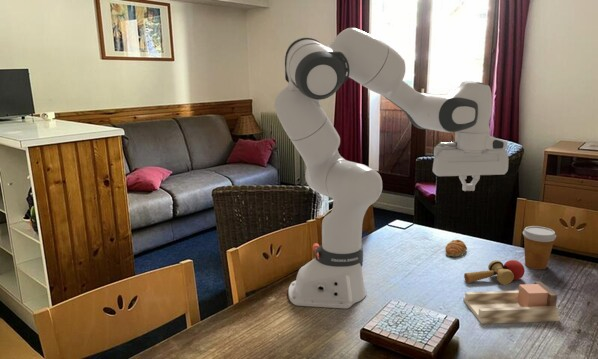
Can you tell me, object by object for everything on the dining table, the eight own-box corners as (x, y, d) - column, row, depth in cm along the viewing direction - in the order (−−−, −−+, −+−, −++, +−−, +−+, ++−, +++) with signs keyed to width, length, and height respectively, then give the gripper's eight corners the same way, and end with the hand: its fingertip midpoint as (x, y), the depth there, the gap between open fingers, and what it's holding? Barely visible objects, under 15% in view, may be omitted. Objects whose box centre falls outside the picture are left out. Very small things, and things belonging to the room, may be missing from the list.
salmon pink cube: (527, 311, 119) (529, 293, 117) (517, 301, 123) (519, 284, 122) (546, 310, 119) (548, 292, 118) (535, 300, 124) (537, 283, 122)
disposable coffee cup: (558, 266, 147) (562, 231, 144) (542, 274, 142) (546, 238, 139) (529, 257, 154) (533, 223, 152) (513, 264, 149) (516, 229, 147)
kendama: (474, 293, 133) (532, 281, 135) (471, 272, 133) (528, 260, 135) (462, 286, 141) (517, 274, 143) (459, 266, 141) (514, 254, 142)
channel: (481, 323, 115) (483, 302, 114) (463, 300, 127) (464, 280, 125) (559, 320, 116) (562, 299, 114) (534, 298, 127) (536, 278, 126)
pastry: (461, 260, 154) (462, 249, 153) (441, 256, 157) (441, 245, 157) (467, 250, 162) (468, 240, 161) (448, 247, 165) (448, 237, 164)
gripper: (438, 144, 122) (435, 194, 125) (513, 142, 123) (508, 192, 126) (430, 140, 128) (428, 188, 131) (502, 139, 129) (498, 186, 132)
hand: (468, 190), depth 129 cm, fingers closed
